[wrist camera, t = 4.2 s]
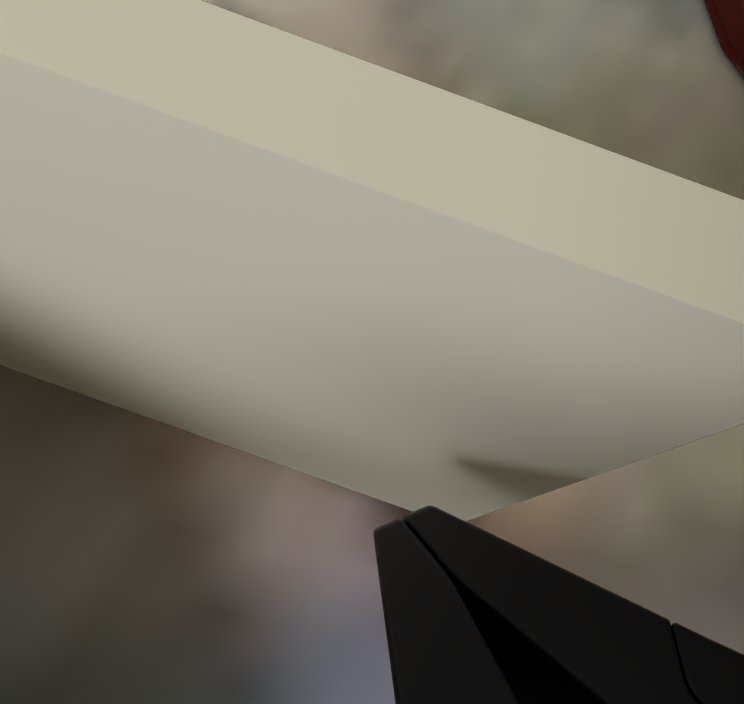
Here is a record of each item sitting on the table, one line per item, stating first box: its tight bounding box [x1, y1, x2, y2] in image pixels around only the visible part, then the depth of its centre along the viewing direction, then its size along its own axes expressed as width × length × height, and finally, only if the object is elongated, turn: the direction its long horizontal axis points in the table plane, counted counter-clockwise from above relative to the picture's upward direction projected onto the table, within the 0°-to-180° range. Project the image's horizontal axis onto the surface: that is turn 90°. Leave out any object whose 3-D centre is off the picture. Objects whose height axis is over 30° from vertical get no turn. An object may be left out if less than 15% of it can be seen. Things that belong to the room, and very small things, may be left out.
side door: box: [0, 0, 744, 521], centre depth 11 cm, size 18×2×12 cm, turn 72°
